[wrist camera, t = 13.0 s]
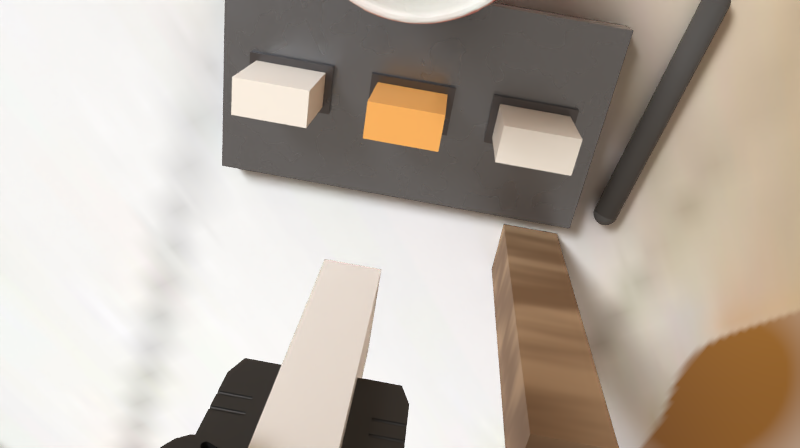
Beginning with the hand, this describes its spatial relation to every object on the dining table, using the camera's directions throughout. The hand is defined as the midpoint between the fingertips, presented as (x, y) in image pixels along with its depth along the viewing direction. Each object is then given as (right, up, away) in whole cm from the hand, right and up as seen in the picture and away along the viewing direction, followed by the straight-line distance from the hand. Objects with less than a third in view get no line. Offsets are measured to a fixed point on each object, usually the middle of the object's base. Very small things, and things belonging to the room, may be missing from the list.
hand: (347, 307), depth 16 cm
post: (+10, 0, +24) cm, 26 cm away
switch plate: (+2, +10, +20) cm, 22 cm away
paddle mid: (+2, +9, +19) cm, 21 cm away
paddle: (-5, +10, +19) cm, 22 cm away
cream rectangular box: (+9, +8, +18) cm, 22 cm away
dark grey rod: (+16, +9, +19) cm, 26 cm away
